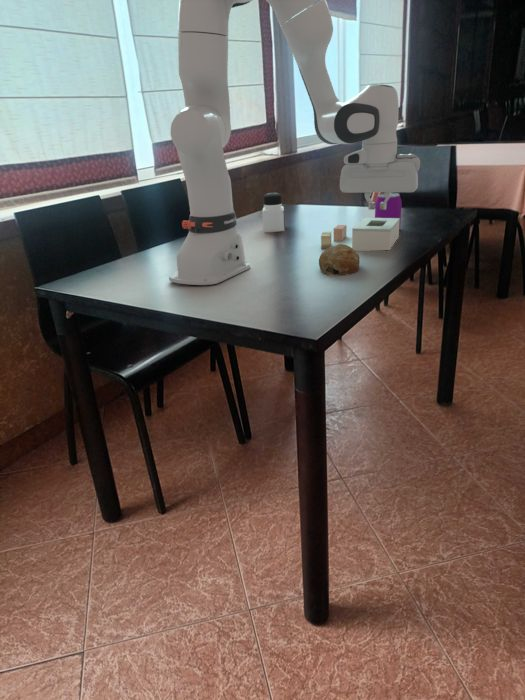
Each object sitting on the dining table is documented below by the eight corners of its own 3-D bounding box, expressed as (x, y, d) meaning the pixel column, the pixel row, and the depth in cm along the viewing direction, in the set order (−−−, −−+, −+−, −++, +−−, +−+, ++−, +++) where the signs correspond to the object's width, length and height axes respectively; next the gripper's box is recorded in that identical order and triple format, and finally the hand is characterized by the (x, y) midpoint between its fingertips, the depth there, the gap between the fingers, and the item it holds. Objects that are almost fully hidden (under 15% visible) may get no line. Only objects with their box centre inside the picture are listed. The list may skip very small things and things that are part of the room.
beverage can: (399, 231, 154) (401, 191, 149) (400, 237, 147) (403, 196, 142) (373, 232, 155) (375, 193, 150) (374, 238, 149) (375, 197, 143)
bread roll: (317, 286, 121) (312, 264, 115) (325, 256, 127) (321, 233, 120) (357, 289, 118) (354, 265, 112) (364, 257, 123) (361, 234, 117)
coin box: (389, 255, 131) (390, 229, 128) (352, 254, 135) (352, 228, 131) (398, 242, 142) (399, 218, 139) (364, 241, 146) (364, 217, 143)
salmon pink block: (341, 244, 145) (341, 228, 143) (333, 243, 146) (333, 228, 144) (346, 239, 149) (346, 225, 147) (338, 239, 150) (338, 224, 148)
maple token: (330, 251, 139) (330, 235, 137) (321, 251, 139) (321, 235, 137) (331, 247, 143) (331, 231, 141) (322, 247, 144) (322, 231, 142)
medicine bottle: (284, 231, 165) (283, 194, 160) (263, 232, 165) (261, 195, 160) (284, 226, 171) (282, 191, 166) (264, 228, 172) (261, 192, 166)
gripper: (422, 152, 126) (418, 207, 132) (344, 154, 134) (344, 206, 140) (418, 154, 121) (415, 212, 127) (337, 157, 129) (338, 211, 135)
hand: (377, 209), depth 134 cm, fingers closed
